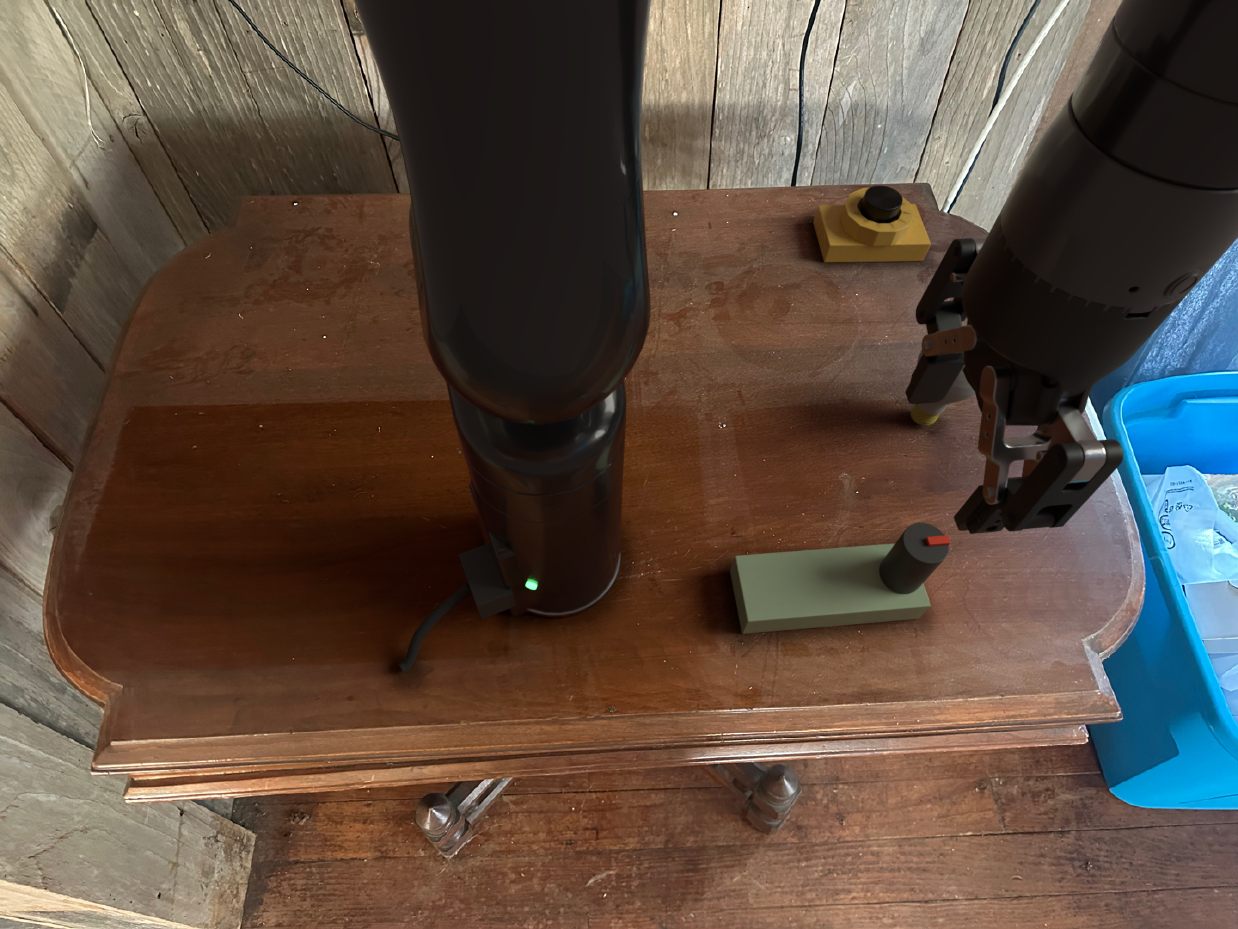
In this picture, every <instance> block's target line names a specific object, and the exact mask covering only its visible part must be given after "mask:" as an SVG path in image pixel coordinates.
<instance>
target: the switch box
mask: <svg viewBox="0 0 1238 929" xmlns="http://www.w3.org/2000/svg"><path fill="white" fill-rule="evenodd" d="M869 188H870V187H862V188H860V189H857V190H855V191H852V192H851V193H849V195H848V196H847V198H846V200H845V202H844V204H818V205H817V208H816V211H815V215H814V218H813V222H812V223H813V226H814V230H815V235H816V237H817V240H818V245H819V249H820V252H821V256H822V259H823V263H876V262H877V263H878V262H879V263H882V262H883V263H884V262H889V263H890V262H891V263H892V262H923V261H924V260H925V258H926V257H927V254H928V252H929V249H930V248H931V246H932V243H931V240H930V238H929V235H928V232H927V231H926V230H927V229H926V227H925V225H924V222H923V219H922V217H921V214H920V212H919V209H918V207H917V205H916V204H917V203H911V202H909V200H907V198H905V197H904V196H902V199H903V202H902V205H901V208H900V210H899V212H898V215H897V217H896V219H895V220H894V221H893V222H891V223H876V222H873V221H870V220H867V219H866V218H865V217H864V216H863V215H861V213H860V206H861V203H862V200H863V197H864V194H865V192H866V191H867V189H869Z"/></svg>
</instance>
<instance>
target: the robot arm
mask: <svg viewBox="0 0 1238 929" xmlns="http://www.w3.org/2000/svg"><path fill="white" fill-rule="evenodd" d="M352 2H353V4H354V6H355V10H356V13H357V15H358V18H359V20H360V23H361V26H362V29H363V31H364V34H365V37H366V41H367V42H368V45H369V48H370V51H371V53H372V56H373V60H374V62H375V64H376V67H377V70H378V73H379V77H380V79H381V80H380V81H381V83H382V86H383V89H384V91H385V92H384V93H385V95H386V98H387V101H388V104H389V107H390V110H391V115H392V118H393V122H394V126H395V130H396V134H397V137H398V141H399V145H400V149H401V154H402V159H403V163H404V168H405V174H406V180H407V184H408V189H409V196H410V206H409V213H408V232H409V239H410V240H409V241H410V247H411V254H412V264H413V271H414V272H413V274H414V281H415V287H416V295H417V303H418V310H419V317H420V322H421V323H420V324H421V328H422V335H423V339H424V342H425V345H426V348H427V350H428V353H429V355H430V358H431V360H432V362H433V364H434V366H435V368H436V369H437V371H438V372H439V374H440V375H441V377H442V378H443V380H444V381H445V383H446V389H447V394H448V398H449V403H450V404H449V405H450V409H451V414H452V419H453V422H454V427H455V430H456V433H457V436H458V441H459V443H460V447H461V450H462V453H463V457H464V461H465V464H466V468H467V470H468V471H467V472H468V475H469V479H470V482H469V483H468V488H469V492H470V495H471V498H472V502H473V506H474V509H475V512H476V516H477V519H478V523H479V527H480V530H481V534H482V537H483V540H484V544H483V545H480V546H477V547H475V548H472V549H470V550H469V549H468V550H466V551H464V552H462V553H458V558H459V560H460V563H461V567H462V569H463V572H464V575H465V577H466V580H467V582H465V583H464V584H463V585H462V586H461V587H460V588H459V589H457V590H456V591H455V592H454V593H453V594H450V596H449V597H447V598H446V599H445V600H444V601H443V602H442V603H440V604H439V605H438V606H437V607H435V608H434V609H433V610H432V611H431V612H430V613H429V614H428V615H427V616H426V617H425V618H424V619H423V621H422V622H421V623H420V624H419V625H418V627H417V628H416V629H415V631H414V633H413V635H412V637H411V639H410V642H409V644H408V648H407V652H406V654H405V657H404V658H403V660H402V661H401V662H399V663H398V666H399V667H400V669H401V670H402V672H403V673H404V674H406V673H407V672H409V671H410V670H411V669H412V667H413V666H414V664H415V663H416V661H417V658H418V654H419V652H420V649H421V645H422V643H423V641H424V639H425V637H426V635H428V633H429V632H430V631H431V630H432V628H433V627H434V626H435V625H436V624H437V623H438V622H439V621H440V620H441V619H442V618H443V617H444V616H445V615H447V614H448V613H449V612H450V611H452V610H453V609H454V608H456V607H457V606H458V605H459V604H461V603H462V602H463V601H464V600H465V599H466V598H467V597H469V596H470V595H472V597H473V601H474V603H475V606H476V609H477V611H478V615H479V617H480V619H481V620H483V619H486V618H488V617H492V616H494V615H497V614H499V613H501V612H503V611H507V610H509V612H510V614H511V615H512V616H513V617H517V616H520V615H522V614H527V613H529V614H532V615H535V616H538V617H543V618H548V619H549V618H554V619H559V618H567V617H572V616H575V615H578V614H582V613H584V612H586V611H588V610H590V609H591V608H593V607H595V606H596V605H597V604H599V603H600V602H601V601H602V600H603V599H604V598H605V597H606V596H607V595H608V594H609V592H610V591H611V590H612V588H613V586H614V585H615V582H616V580H617V578H618V576H619V571H620V566H621V556H622V554H621V553H622V552H621V524H622V507H623V506H622V504H623V485H624V484H623V483H624V466H625V465H624V464H625V448H626V447H625V446H626V428H627V404H628V402H627V400H628V398H627V390H626V382H625V379H626V377H628V375H629V374H630V373H631V371H632V369H633V368H634V367H635V365H636V362H637V361H638V358H639V356H640V355H641V353H642V350H643V349H644V347H645V346H644V345H645V342H646V339H647V336H648V332H649V329H650V321H651V307H652V306H651V305H652V304H651V292H650V291H651V290H650V289H651V288H650V277H649V267H648V252H647V251H648V250H647V238H646V236H647V235H646V216H645V195H644V177H643V176H644V175H643V174H644V173H643V152H642V151H643V150H642V149H643V148H642V146H643V145H642V141H643V140H642V119H643V118H642V116H643V115H642V114H643V87H644V78H645V76H644V75H645V67H646V66H645V64H646V54H647V44H648V34H649V24H650V16H651V8H652V0H352ZM1031 152H1032V153H1031V154H1030V156H1029V158H1028V159H1027V161H1026V163H1025V165H1024V167H1023V169H1022V171H1021V172H1020V175H1019V176H1018V178H1017V179H1016V182H1015V183H1014V186H1013V187H1012V189H1011V191H1010V192H1009V194H1008V196H1007V198H1006V200H1005V203H1004V204H1003V205H1002V207H1001V209H1000V211H999V213H998V216H997V217H996V219H995V220H994V221H995V222H994V223H993V225H992V227H991V228H990V231H989V233H988V235H987V236H979V237H965V238H964V237H963V238H954V239H953V240H951V243H950V244H949V246H948V248H947V250H946V252H945V254H944V255H943V258H942V259H941V261H940V263H939V265H938V267H936V268H937V269H936V270H935V272H934V274H933V276H932V278H931V279H930V282H929V283H928V285H927V286H926V289H925V291H924V292H923V294H922V296H921V298H920V300H919V301H918V303H917V305H916V308H915V320H916V323H917V324H918V325H925V328H926V333H927V334H925V335H924V336H923V337H922V339H921V350H922V352H923V355H922V357H921V359H920V360H919V362H918V361H917V362H918V364H917V363H916V366H915V369H914V370H913V372H912V374H911V376H910V381H909V383H908V386H907V387H906V389H905V392H904V393H905V396H906V398H907V401H908V404H910V405H915V404H923V403H935V402H939V401H941V400H943V399H944V398H945V396H946V395H947V393H948V391H949V390H950V388H951V387H952V385H953V383H954V382H955V380H956V378H957V377H958V375H959V373H960V372H961V370H962V369H963V370H962V371H963V373H964V375H965V377H966V380H967V382H968V383H969V384H970V386H971V387H972V388H973V390H974V391H975V394H976V395H975V398H976V402H977V405H978V408H979V411H980V413H981V417H980V425H979V426H980V427H979V435H978V444H977V449H978V452H979V453H980V454H981V455H983V456H984V457H985V465H984V473H983V482H982V484H980V485H978V486H977V487H976V488H975V490H974V491H973V492H972V493H971V495H969V497H968V498H967V500H966V501H965V502H964V503H963V505H962V506H961V507H960V508H959V509H958V511H957V512H956V513H955V515H954V516H953V520H954V523H955V526H956V528H957V530H958V531H960V532H966V531H967V532H969V535H975V534H985V533H986V534H988V533H996V532H997V533H998V532H1002V531H1003V530H1004V529H1006V530H1007V531H1008V532H1020V531H1024V530H1031V529H1032V530H1033V529H1043V528H1049V529H1053V528H1054V529H1055V528H1062V527H1064V526H1065V525H1066V524H1067V523H1068V522H1069V521H1070V520H1071V518H1072V517H1074V515H1075V514H1076V513H1077V512H1078V511H1079V510H1080V509H1081V508H1082V507H1083V506H1084V505H1085V503H1086V502H1087V501H1088V500H1089V499H1090V498H1091V497H1092V496H1093V494H1095V493H1096V492H1097V491H1098V489H1099V488H1100V487H1101V486H1102V485H1103V484H1104V483H1105V482H1106V481H1107V480H1108V479H1109V477H1110V476H1111V475H1112V474H1113V473H1115V471H1116V470H1117V469H1118V468H1119V467H1120V466H1121V464H1122V463H1123V460H1124V449H1123V446H1122V445H1121V443H1120V442H1119V441H1118V440H1116V439H1114V438H1109V439H1108V438H1107V439H1097V438H1096V436H1095V435H1094V433H1093V431H1092V429H1091V428H1090V426H1089V425H1088V423H1087V421H1086V420H1085V417H1083V413H1084V411H1085V410H1086V408H1087V404H1088V400H1089V397H1090V394H1091V392H1092V390H1093V388H1094V386H1095V385H1096V384H1097V383H1098V382H1100V381H1102V379H1104V378H1106V377H1107V376H1108V375H1110V374H1111V373H1113V372H1114V371H1116V370H1117V369H1119V368H1120V367H1122V366H1124V365H1125V364H1126V363H1127V362H1128V361H1129V360H1131V359H1132V358H1133V356H1135V355H1136V354H1137V352H1138V351H1139V350H1140V349H1141V348H1142V346H1144V344H1145V343H1146V342H1147V341H1148V340H1149V339H1150V337H1151V336H1152V335H1153V334H1154V333H1155V332H1156V331H1157V330H1158V329H1159V327H1161V325H1162V324H1163V323H1164V322H1165V320H1167V318H1168V317H1169V316H1170V315H1171V314H1172V313H1173V311H1174V310H1175V309H1176V308H1177V307H1179V305H1180V304H1181V303H1182V302H1183V301H1184V300H1185V298H1186V297H1187V296H1188V295H1189V293H1190V292H1192V290H1193V289H1194V288H1195V287H1196V286H1197V285H1198V284H1199V283H1200V281H1201V280H1202V279H1203V278H1204V277H1205V276H1206V275H1207V274H1208V272H1209V271H1210V270H1211V269H1212V268H1213V267H1214V266H1215V264H1216V263H1217V262H1218V261H1219V260H1220V259H1221V258H1222V257H1223V256H1224V255H1225V253H1226V252H1227V251H1228V250H1229V249H1230V248H1231V247H1232V245H1234V243H1235V242H1236V241H1237V240H1238V0H1122V1H1121V3H1120V5H1119V7H1118V8H1117V10H1116V12H1115V14H1114V16H1112V19H1111V21H1110V23H1109V24H1108V26H1107V28H1106V30H1105V32H1104V33H1103V36H1101V39H1100V41H1099V42H1098V45H1097V46H1096V48H1095V50H1094V52H1093V54H1092V56H1091V57H1090V59H1089V61H1088V63H1087V65H1086V67H1085V69H1084V71H1083V73H1082V74H1081V75H1080V78H1079V79H1078V81H1077V83H1076V85H1075V87H1074V89H1073V91H1072V92H1071V94H1070V96H1069V97H1068V99H1067V101H1066V103H1065V104H1064V105H1063V107H1062V108H1061V109H1060V111H1059V113H1058V114H1057V116H1056V117H1055V118H1054V120H1053V121H1052V122H1051V123H1050V125H1049V126H1048V128H1046V130H1045V132H1044V133H1043V134H1042V136H1041V138H1040V139H1039V140H1038V142H1037V144H1036V146H1035V147H1034V149H1033V151H1031ZM947 299H952V300H947ZM966 319H967V321H966ZM964 321H966V325H963V322H964ZM963 354H964V355H963ZM964 365H965V366H964ZM963 367H964V368H963ZM1008 426H1009V427H1010V426H1011V427H1012V426H1014V427H1016V426H1017V427H1019V426H1022V427H1031V426H1032V427H1036V430H1035V431H1034V432H1033V433H1032V434H1030V435H1028V436H1015V437H1005V434H1006V433H1005V432H1006V427H1008ZM1017 461H1023V464H1022V465H1023V466H1022V471H1021V476H1014V477H1013V476H1012V477H1009V472H1010V466H1011V464H1012V463H1014V462H1017Z"/></svg>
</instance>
